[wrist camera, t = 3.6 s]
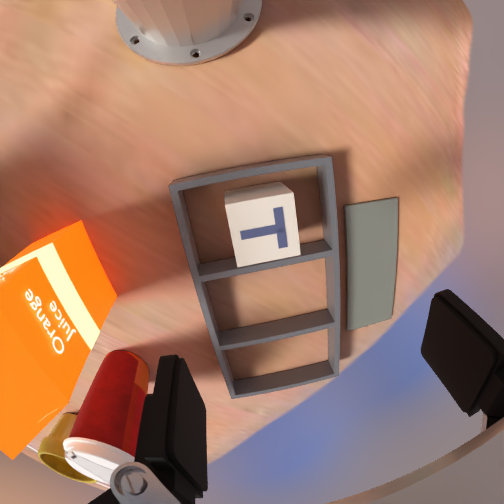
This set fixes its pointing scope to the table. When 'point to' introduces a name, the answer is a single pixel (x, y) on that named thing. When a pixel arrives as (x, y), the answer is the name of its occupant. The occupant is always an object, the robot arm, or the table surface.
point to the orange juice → (47, 329)
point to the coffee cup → (109, 417)
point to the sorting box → (229, 268)
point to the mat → (370, 261)
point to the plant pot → (60, 450)
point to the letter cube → (262, 223)
